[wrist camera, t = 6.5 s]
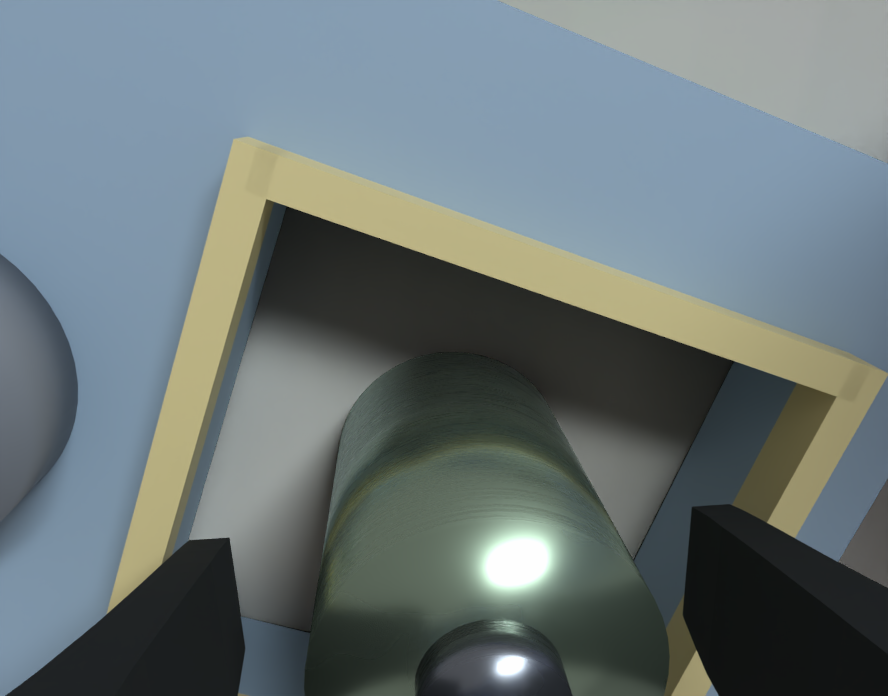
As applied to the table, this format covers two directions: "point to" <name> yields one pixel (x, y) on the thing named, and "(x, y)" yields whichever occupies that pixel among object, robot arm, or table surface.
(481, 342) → the table surface
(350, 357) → the table surface
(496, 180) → the control panel
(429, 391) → the spout can
